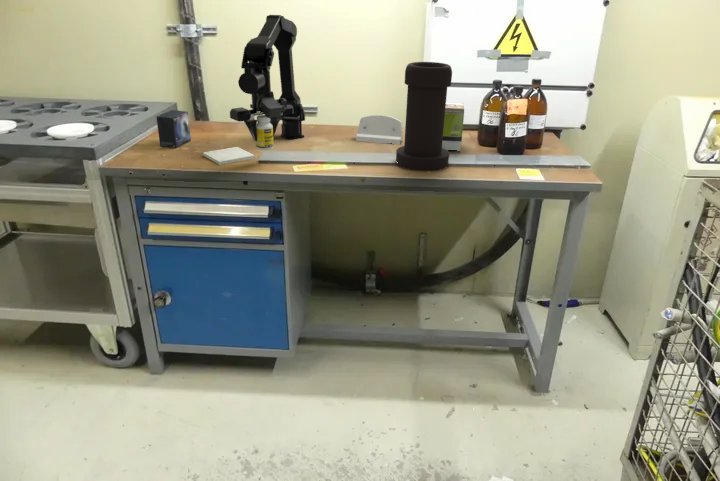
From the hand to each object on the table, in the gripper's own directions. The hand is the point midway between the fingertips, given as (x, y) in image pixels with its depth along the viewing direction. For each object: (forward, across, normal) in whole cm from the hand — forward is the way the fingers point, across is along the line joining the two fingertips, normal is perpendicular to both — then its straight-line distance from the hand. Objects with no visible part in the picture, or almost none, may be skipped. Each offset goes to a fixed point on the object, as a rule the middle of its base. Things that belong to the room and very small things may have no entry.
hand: (263, 139), depth 164 cm
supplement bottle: (+3, 0, 0) cm, 3 cm away
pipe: (+7, +40, -29) cm, 50 cm away
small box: (+7, -15, +35) cm, 39 cm away
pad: (+7, -7, +11) cm, 15 cm away
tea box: (+7, +58, -19) cm, 62 cm away
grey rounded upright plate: (+8, +47, 0) cm, 47 cm away
